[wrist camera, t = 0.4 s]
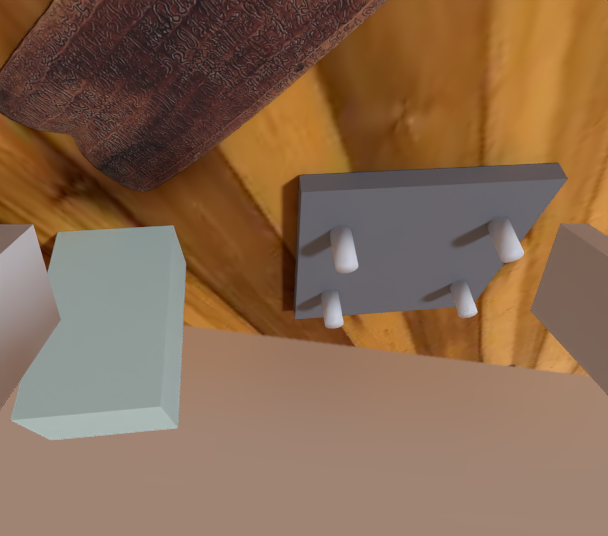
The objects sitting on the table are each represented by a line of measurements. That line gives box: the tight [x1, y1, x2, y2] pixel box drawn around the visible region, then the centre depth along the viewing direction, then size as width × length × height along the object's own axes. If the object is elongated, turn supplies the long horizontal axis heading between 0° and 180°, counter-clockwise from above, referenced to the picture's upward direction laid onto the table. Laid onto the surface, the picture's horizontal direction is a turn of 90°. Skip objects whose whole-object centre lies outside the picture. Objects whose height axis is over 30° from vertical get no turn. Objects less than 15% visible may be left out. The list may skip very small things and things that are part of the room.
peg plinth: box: [294, 163, 568, 328], centre depth 36 cm, size 18×18×4 cm
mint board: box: [11, 226, 186, 440], centre depth 30 cm, size 5×8×13 cm, turn 88°
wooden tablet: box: [0, 0, 388, 192], centre depth 19 cm, size 26×2×10 cm
